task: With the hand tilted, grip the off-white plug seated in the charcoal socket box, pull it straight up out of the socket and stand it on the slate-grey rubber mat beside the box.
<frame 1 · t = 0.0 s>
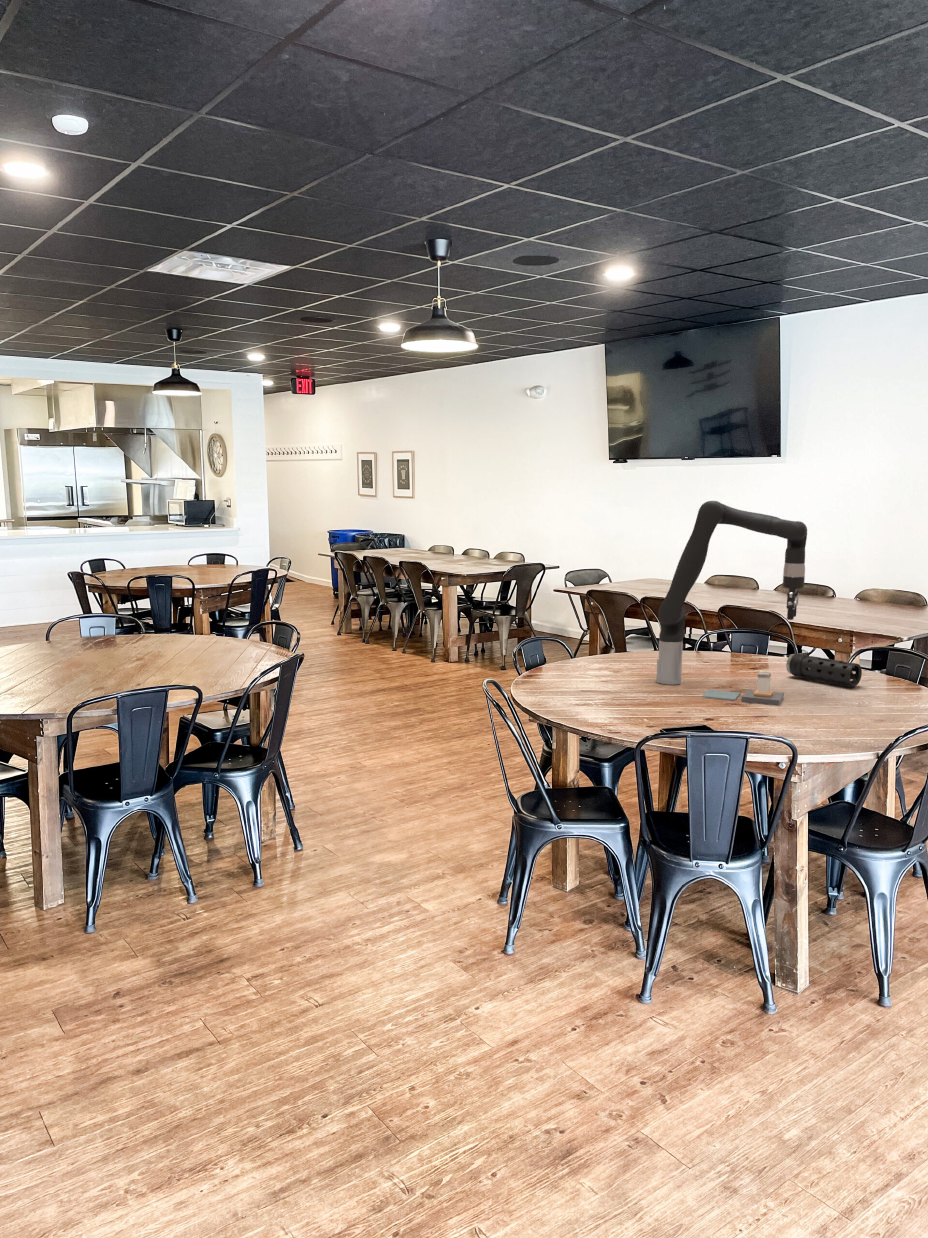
hand: (791, 618, 326), 29 cm above the table, tool pointing down, fingers open, 8 cm apart
muzzle brake: (821, 683, 351), on the table
mat: (721, 695, 328), on the table
plug: (763, 686, 320), in the socket box
socket box: (762, 700, 321), on the table
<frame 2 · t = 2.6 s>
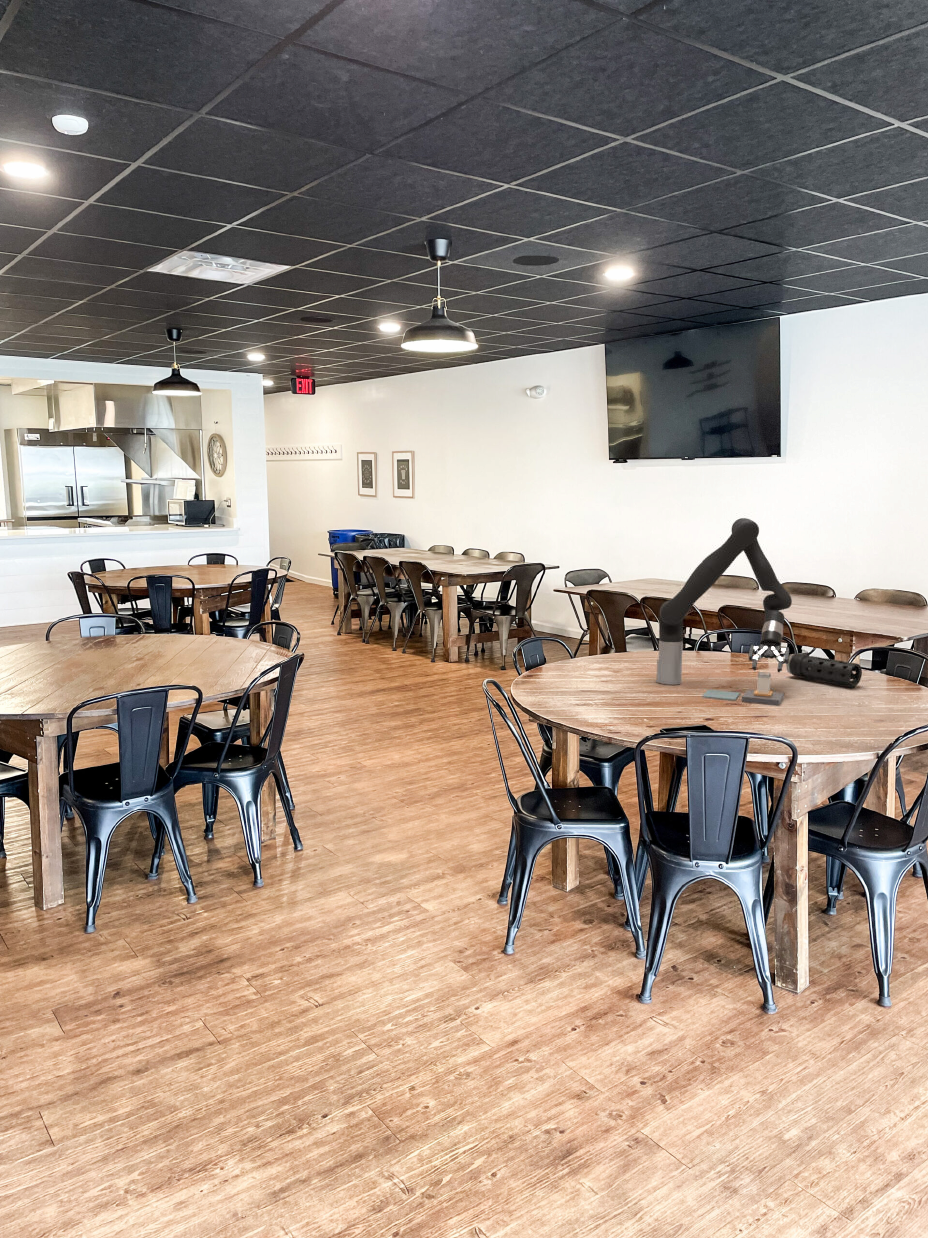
hand: (766, 670, 324), 10 cm above the table, tool tilted 45°, fingers open, 8 cm apart
nothing on the table moved.
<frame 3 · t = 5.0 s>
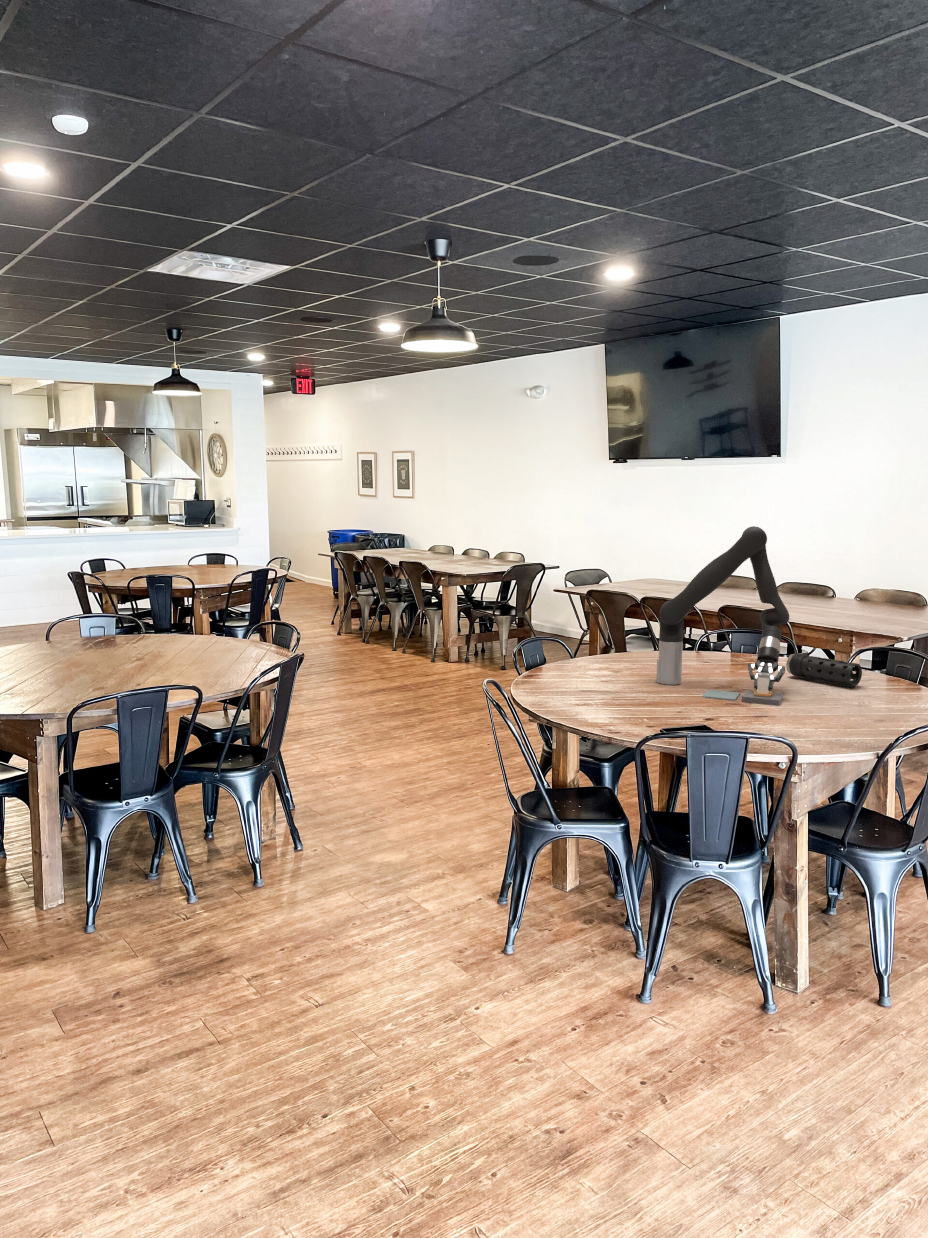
hand: (762, 689, 319), 5 cm above the table, tool tilted 45°, fingers closed on plug, 4 cm apart
plug: (763, 686, 320), in the socket box, touching gripper
everything else where it was.
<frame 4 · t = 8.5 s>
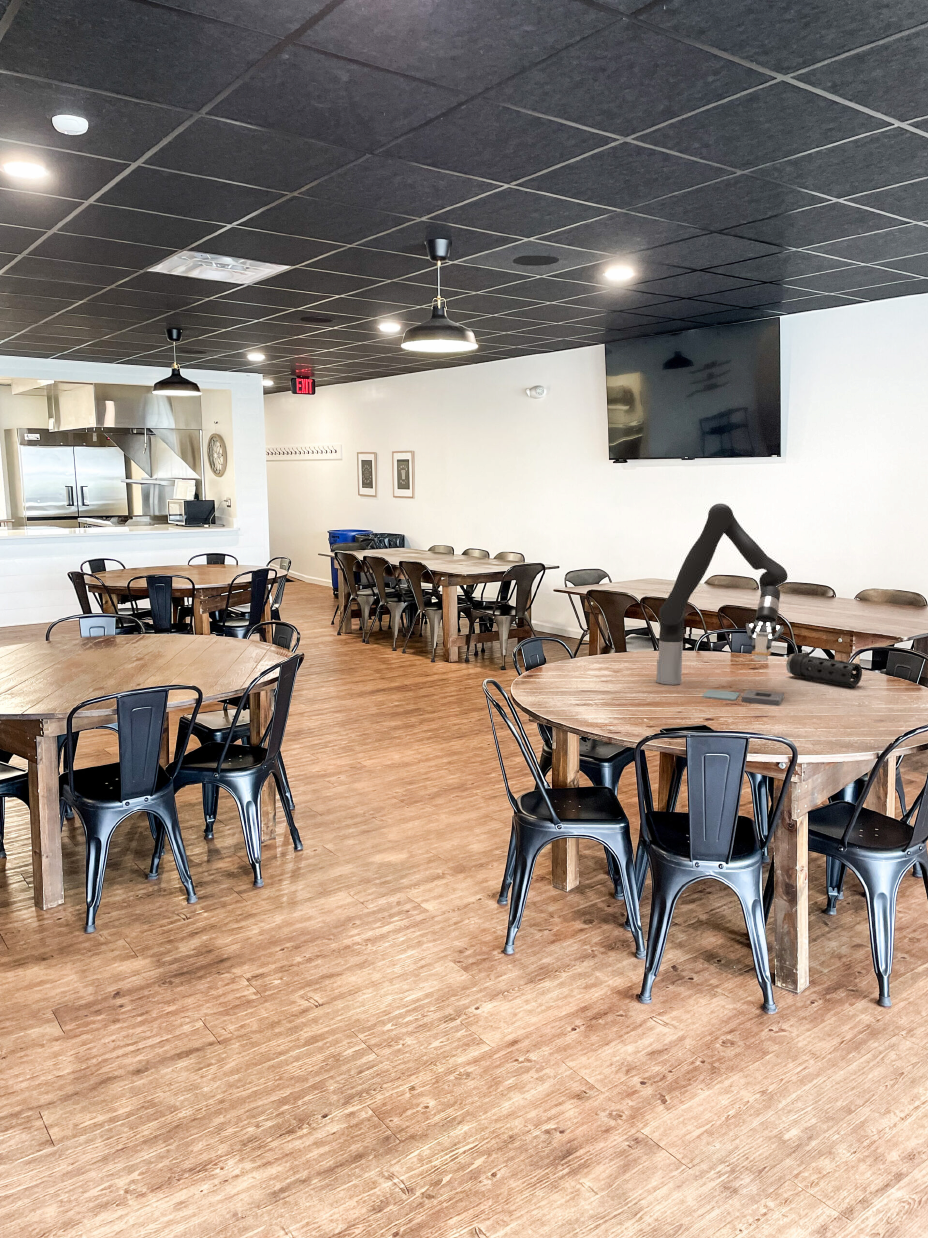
hand: (760, 648, 317), 20 cm above the table, tool tilted 45°, fingers closed on plug, 4 cm apart
plug: (761, 646, 319), point 20 cm above the table, touching gripper
everything else where it was.
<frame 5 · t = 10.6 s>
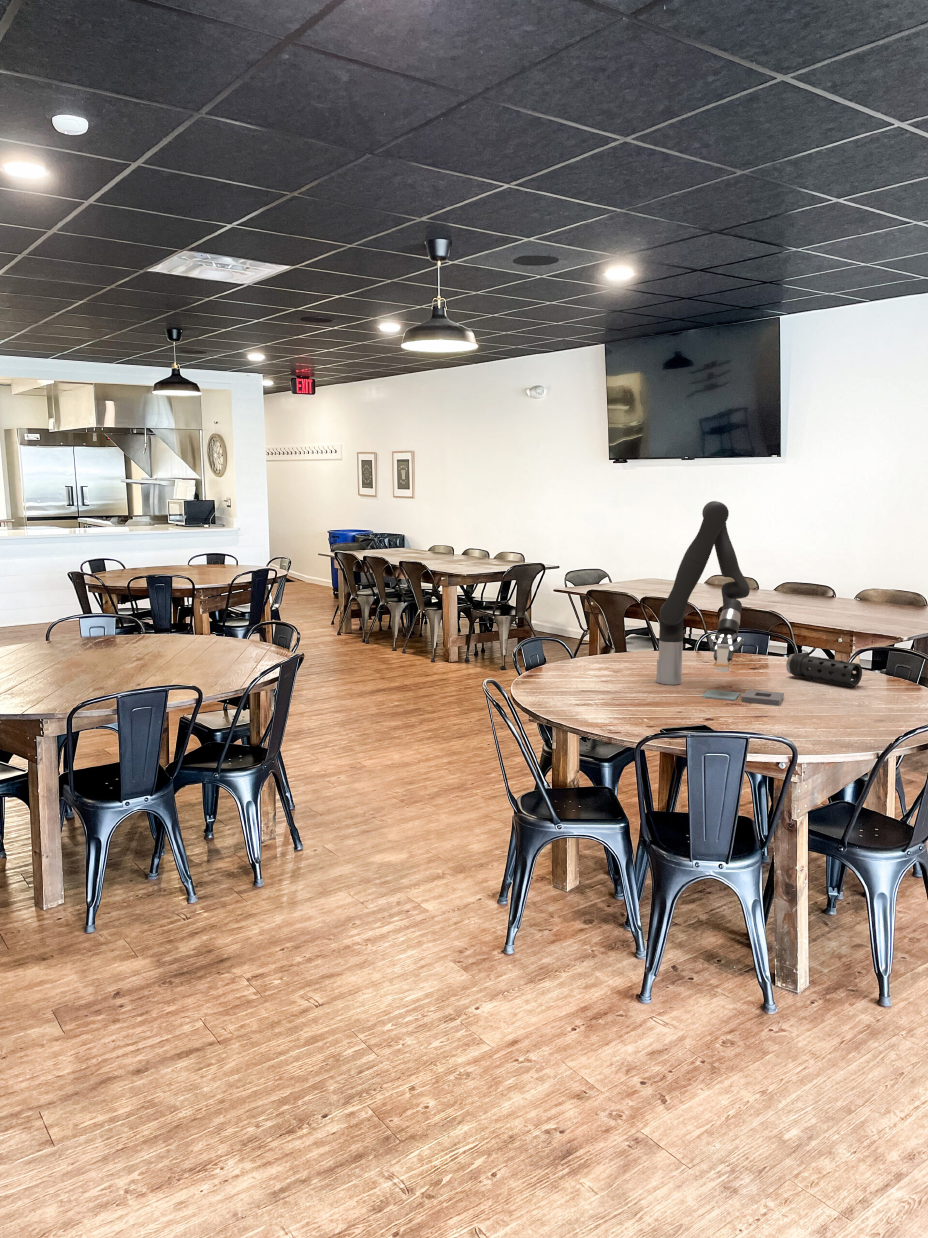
hand: (722, 660, 324), 14 cm above the table, tool tilted 45°, fingers closed on plug, 4 cm apart
plug: (723, 658, 326), point 15 cm above the table, touching gripper
everything else where it was.
when the fingers open (7 cm above the table, at t = 12.3 s): plug drops 1 cm, resting on mat.
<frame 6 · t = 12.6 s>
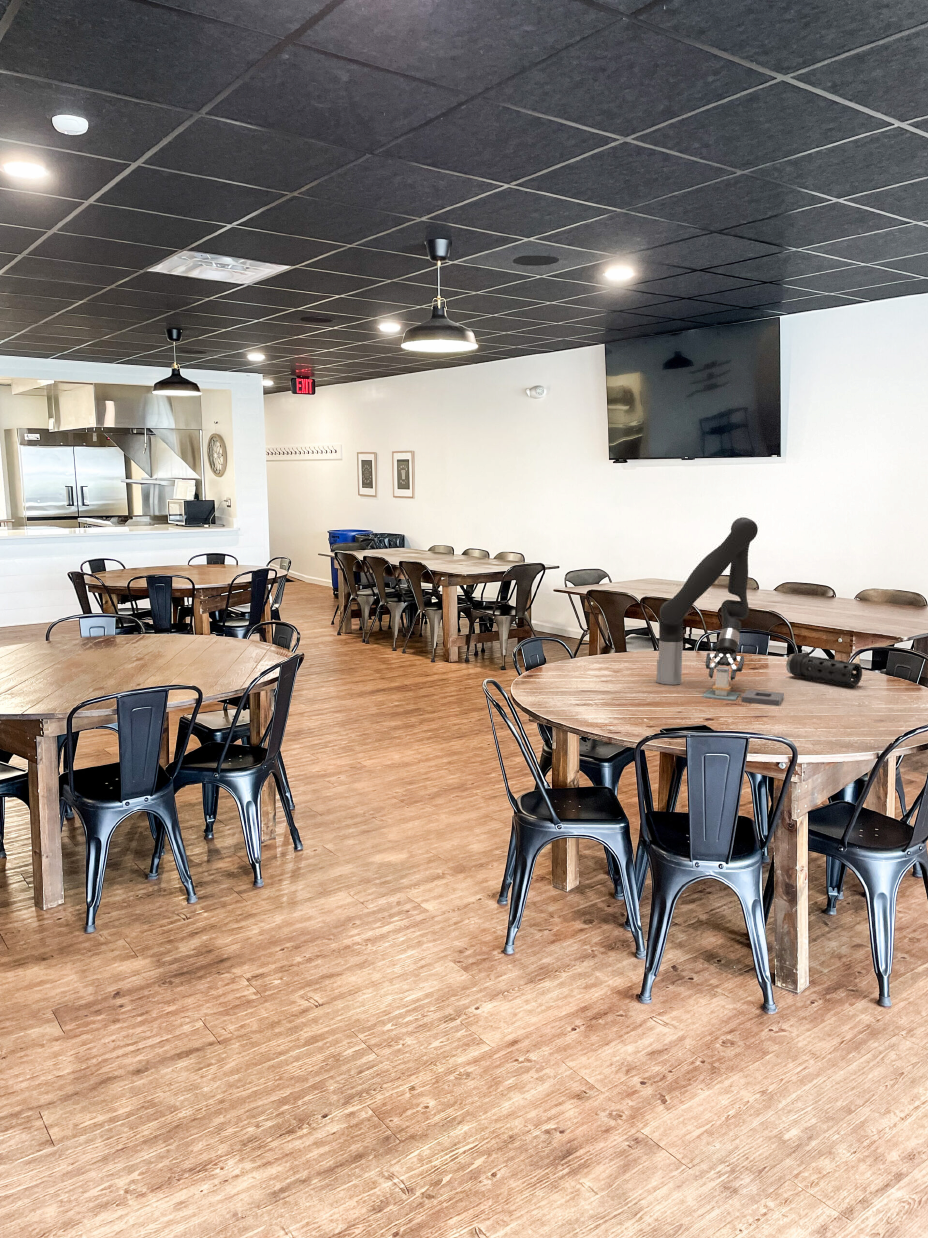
hand: (721, 678, 325), 7 cm above the table, tool tilted 45°, fingers open, 7 cm apart
plug: (722, 681, 327), on the mat, point 6 cm above the table
everything else where it was.
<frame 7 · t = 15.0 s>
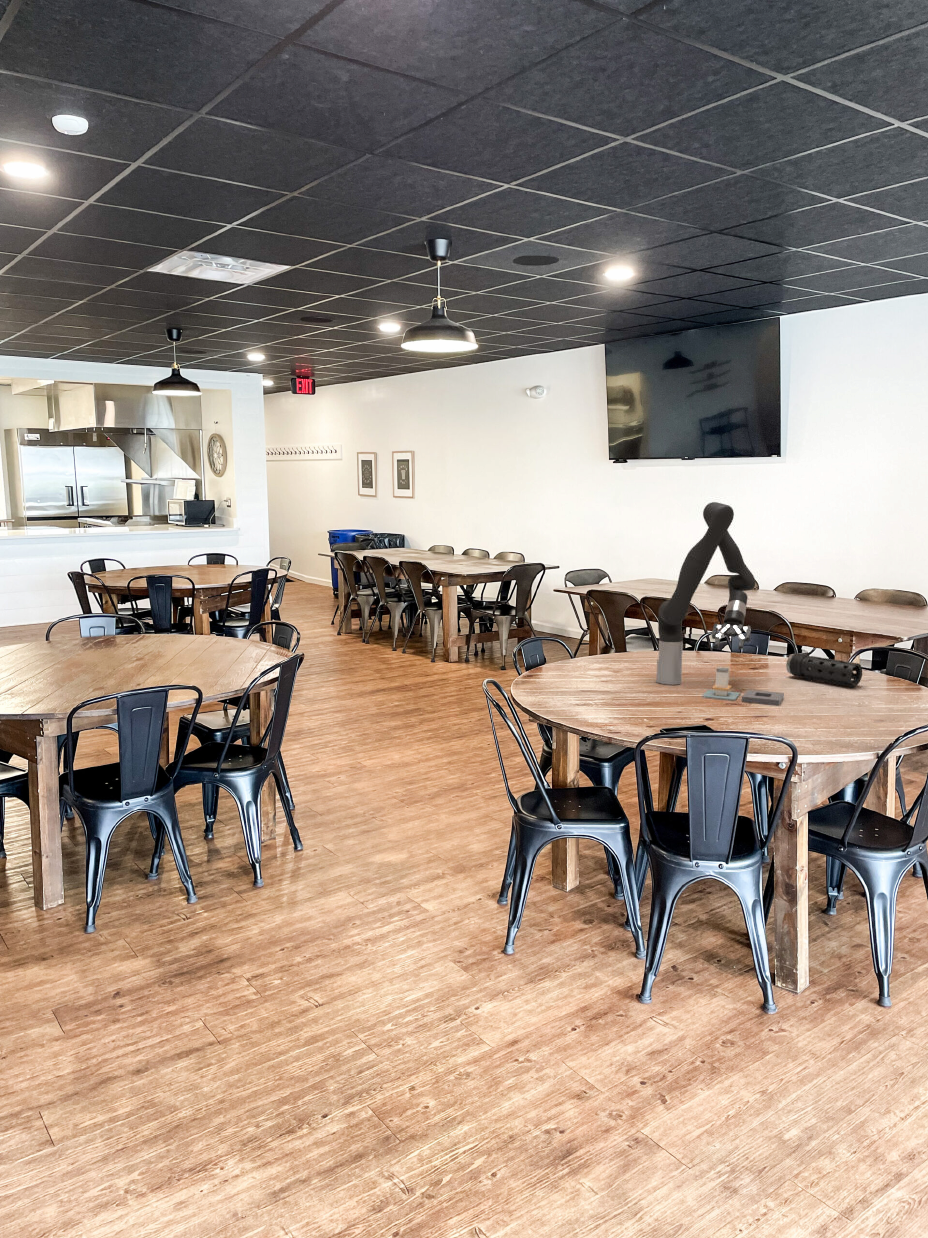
hand: (728, 647, 335), 17 cm above the table, tool tilted 45°, fingers open, 8 cm apart
nothing on the table moved.
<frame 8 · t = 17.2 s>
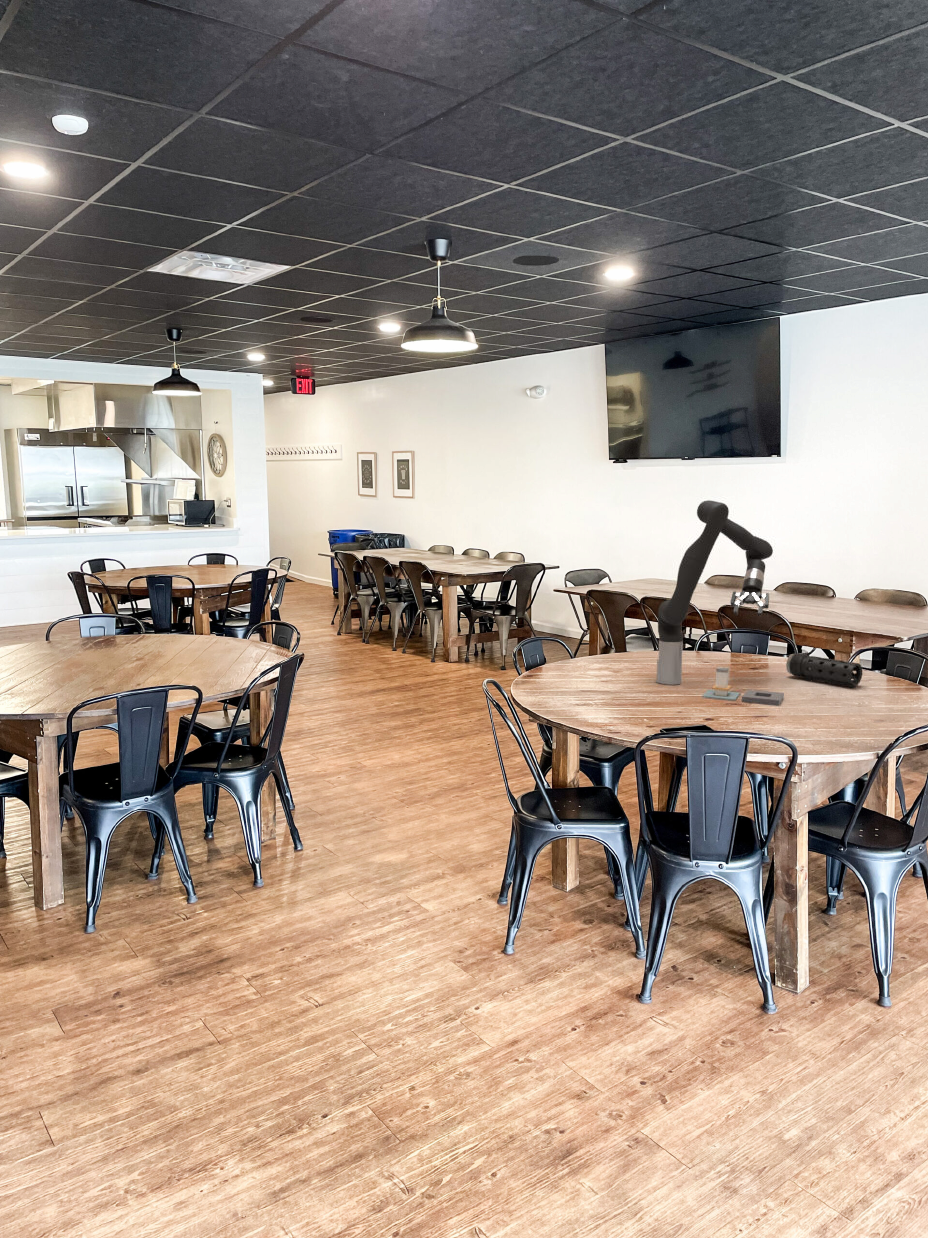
hand: (747, 614, 340), 29 cm above the table, tool tilted 45°, fingers open, 8 cm apart
nothing on the table moved.
at the end: plug inside the target area (0.1 cm from its centre), point 5.6 cm above the table; plug tilted 0°; the gripper is holding nothing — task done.
